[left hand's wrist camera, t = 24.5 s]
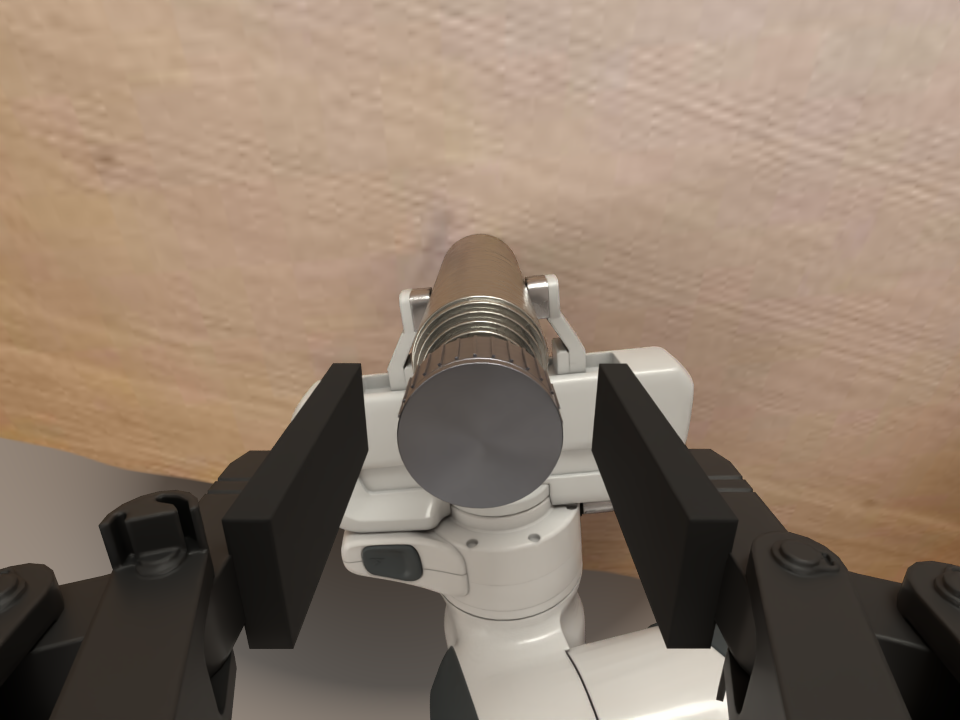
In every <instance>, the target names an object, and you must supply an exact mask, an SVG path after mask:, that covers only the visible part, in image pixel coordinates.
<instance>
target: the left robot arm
mask: <svg viewBox="0 0 960 720" xmlns="http://www.w3.org/2000/svg"><path fill="white" fill-rule="evenodd" d="M368 451H369V448H368V437H367V426H366V415H365V403H364V392H363V381H362V370H361V363H333V364H332V366H331V367H330V368H329V370H328V371H327V373H326V374H325V375H324V377H323V378H322V380H321V381H320V382H319V384H318V385H317V387H316V388H315V389H314V391H313V392H312V394H311V395H310V396H309V398H308V399H307V401H306V402H305V403H304V405H303V406H302V408H301V409H300V410H299V412H298V413H297V415H296V416H295V417H294V419H293V420H292V422H291V423H290V424H289V426H288V427H287V429H286V430H285V431H284V433H283V434H282V436H281V437H280V438H279V440H278V441H277V443H276V444H275V445H274V447H273V448H272V450H271V451H249V452H247V453H246V454H244V455H242V456H241V457H239V458H238V459H236V460H235V461H233V462H232V463H230V464H229V465H228V467H227V468H226V469H225V470H224V472H223V473H222V474H221V475H220V476H219V478H218V481H215V483H214V484H213V485H212V486H211V488H210V489H209V490H208V494H205V495H204V496H203V497H202V498H201V500H200V501H199V502H198V499H197V498H196V497H195V496H193V495H192V494H191V493H189V492H184V491H179V490H170V491H159V492H155V493H151V494H147V495H143V496H140V497H138V498H136V499H133V500H131V501H129V502H127V503H124V504H122V505H121V506H119V507H118V508H116V509H115V510H113V511H112V512H111V513H109V514H108V515H107V516H106V517H105V518H104V520H103V521H102V522H101V523H100V524H99V529H100V531H101V535H102V538H103V541H104V544H105V547H106V550H107V553H108V556H109V559H110V562H111V565H112V568H113V571H112V573H111V574H108V575H104V576H100V577H96V578H91V579H86V580H82V581H77V582H73V583H68V584H64V585H58V582H57V580H56V577H55V575H54V572H53V570H52V569H50V568H49V567H47V566H46V565H44V564H33V563H28V564H22V565H16V566H10V567H7V568H3V569H0V720H231V718H232V708H233V698H234V688H235V678H236V662H235V656H234V652H233V646H234V644H235V642H236V640H237V638H238V636H239V634H240V632H241V630H242V628H243V626H245V630H246V635H247V639H248V644H249V648H250V649H293V648H294V645H295V643H296V640H297V637H298V635H299V632H300V629H301V627H302V624H303V622H304V619H305V616H306V614H307V611H308V608H309V606H310V603H311V601H312V598H313V595H314V593H315V590H316V587H317V585H318V582H319V580H320V577H321V574H322V572H323V569H324V566H325V564H326V561H327V559H328V556H329V553H330V551H331V548H332V545H333V543H334V540H335V538H336V535H337V532H338V530H339V527H340V524H341V522H342V519H343V517H344V514H345V511H346V509H347V506H348V503H349V501H350V498H351V496H352V493H353V490H354V488H355V485H356V482H357V480H358V477H359V475H360V472H361V469H362V467H363V464H364V461H365V459H366V456H367V454H368ZM591 451H592V454H593V456H594V459H595V461H596V464H597V467H598V469H599V472H600V475H601V477H602V480H603V482H604V485H605V488H606V490H607V493H608V496H609V498H610V501H611V503H612V506H613V509H614V511H615V514H616V517H617V519H618V522H619V524H620V527H621V530H622V532H623V535H624V538H625V540H626V543H627V545H628V548H629V551H630V553H631V556H632V559H633V561H634V564H635V566H636V569H637V572H638V574H639V577H640V580H641V582H642V585H643V587H644V590H645V593H646V595H647V598H648V600H649V603H650V606H651V608H652V611H653V614H654V616H655V619H656V622H657V624H658V627H659V629H660V632H661V635H662V637H663V640H664V643H665V645H666V648H667V649H711V644H712V639H713V635H714V630H715V626H716V624H717V626H718V628H719V630H720V632H721V634H722V636H723V638H724V639H725V641H726V643H727V645H728V647H727V652H726V656H725V660H724V664H723V669H722V673H721V677H720V681H719V686H718V690H717V697H716V700H718V701H721V702H723V700H724V696H725V692H726V696H727V706H728V716H729V720H960V567H959V566H955V565H952V564H946V563H941V562H935V561H925V562H916V563H915V564H913V565H912V566H910V567H909V568H908V569H907V572H906V574H905V577H904V580H903V582H902V583H898V582H893V581H889V580H884V579H879V578H875V577H870V576H866V575H861V574H857V573H853V572H850V571H848V570H847V568H846V567H845V565H844V564H843V562H842V561H841V560H840V558H839V557H838V556H837V555H835V554H834V553H833V552H832V551H830V550H829V549H828V548H827V547H825V546H824V545H822V544H820V543H818V542H816V541H814V540H812V539H810V538H808V537H804V536H801V535H798V534H794V533H791V532H788V531H787V530H786V529H785V528H784V526H783V525H782V524H781V523H780V522H779V520H778V519H777V518H776V517H775V516H774V514H773V513H772V512H771V511H770V509H769V508H768V507H767V506H766V505H765V503H764V502H763V501H762V500H761V499H760V497H759V496H758V495H757V494H756V492H753V489H752V488H751V486H750V485H749V484H748V483H747V482H746V480H743V479H742V476H741V474H740V473H739V472H738V471H737V469H736V468H735V467H734V466H733V465H732V463H731V462H730V461H728V460H727V459H725V458H724V457H722V456H720V455H719V454H717V453H716V452H714V451H713V450H711V449H688V448H687V447H686V445H685V444H684V443H683V441H682V440H681V438H680V437H679V436H678V434H677V433H676V431H675V430H674V429H673V427H672V426H671V424H670V423H669V422H668V420H667V419H666V417H665V416H664V415H663V413H662V412H661V410H660V409H659V408H658V406H657V405H656V403H655V402H654V401H653V399H652V398H651V396H650V395H649V394H648V392H647V391H646V389H645V388H644V387H643V385H642V384H641V382H640V381H639V380H638V378H637V377H636V375H635V374H634V373H633V371H632V370H631V368H630V367H629V366H628V364H627V363H599V370H598V381H597V392H596V403H595V415H594V426H593V437H592V448H591Z"/></svg>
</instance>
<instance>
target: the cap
mask: <svg viewBox="0 0 960 720" xmlns="http://www.w3.org/2000/svg"><path fill="white" fill-rule="evenodd" d="M559 409H561V408H560V405H559V402H558V399H557V396H556V393H555V389H554V386H553V384H551V382H550V379H549V376H548V373H547V371H546V370H543V368H542V367H541V365H540V364H539V362H538V359H537V358H534V357H533V356H531V355H530V354H529V353H528V352H526V350H525V348H520V347H519V346H517V345H515V344H512V343H511V341H509V340H507V341H505V340H501V339H498V338H494V336H491V337H477V335H474V337H468V338H463V339H460V338H457V340H455V341H453V342H450V343H447V344H446V345H444V344H442V345H441V347H440V348H438V349H437V350H435V351H434V352H432V353H429V354H428V355H427V358H426V359H425V360H424V361H423V362H422V363H421V364H420V365H419V364H418V365H417V367H416V370H415V373H414V375H413V377H412V378H411V377H410V379H409V381H408V384H407V388H406V391H405V394H404V397H403V400H402V404H401V407H400V410H399V413H398V418H399V421H398V427H397V444H398V449H399V453H400V456H401V459H402V461H403V463H404V465H405V467H406V469H407V471H408V472H409V474H410V475H411V477H412V478H413V479H414V480H415V481H416V482H417V483H418V485H420V486H421V487H422V488H423V489H424V490H425V491H427V492H428V493H430V494H431V495H433V496H434V497H436V498H438V499H440V500H442V501H445V502H447V503H450V504H453V505H457V506H461V507H467V508H480V509H483V508H494V507H499V506H504V505H507V504H510V503H513V502H515V501H518V500H520V499H522V498H524V497H526V496H527V495H529V494H531V493H532V492H533V491H535V490H536V489H537V488H538V487H539V486H541V485H542V484H543V483H544V482H545V481H546V479H547V478H548V477H549V475H550V474H551V473H552V471H553V469H554V468H555V466H556V464H557V462H558V459H559V457H560V454H561V450H562V445H563V420H562V417H561V413H560V410H559Z"/></svg>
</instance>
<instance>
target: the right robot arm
mask: <svg viewBox="0 0 960 720" xmlns="http://www.w3.org/2000/svg"><path fill="white" fill-rule="evenodd" d="M525 285H526V288H527V290H528V293H529V296H530V299H531V302H532V304H533V307H534V310H535V313H536V315H537V318H538V319H544V318H547V320H548V321H549V323H550V324H551V326H552V327H553V328H554V330H555V331H556V333H557V334H558V336H559V337H560V338H554V339H553V340H552V356H551V357H548V369H547V373H548V376H549V379H550V382H551V384H553V386H554V389H555V393H556V396H557V399H558V402H559V405H560V408H561V409H559V410H560V413H561V417H562V420H563V445H562V450H561V454H560V457H559V459H558V462H557V464H556V466H555V468H554V469H553V471H552V473H551V474H550V475H549V477H548V478H547V479H546V481H545V482H544V483H543V484H542V485H541V486H539V487H538V488H537V489H536V490H535V491H533V492H532V493H531V494H529V495H527V496H526V497H524V498H522V499H520V500H518V501H515V502H513V503H510V504H507V505H504V506H499V507H494V508H483V509H480V508H467V507H461V506H457V505H453V504H450V503H447V502H445V501H442V500H440V499H438V498H436V497H434V496H433V495H431V494H430V493H428V492H427V491H425V490H424V489H423V488H422V487H421V486H420V485H418V483H417V482H416V481H415V480H414V479H413V478H412V477H411V475H410V474H409V472H408V471H407V469H406V467H405V465H404V463H403V461H402V459H401V456H400V453H399V449H398V444H397V427H398V421H399V418H398V413H399V410H400V407H401V404H402V400H403V397H404V394H405V391H406V388H407V384H408V381H409V379H410V377H411V378H412V377H413V375H414V374H413V369H412V353H410V355H409V352H410V349H411V347H412V344H413V342H414V339H415V337H416V334H417V332H418V329H419V327H420V324H421V321H422V318H423V316H424V313H425V310H426V307H427V304H428V302H429V299H430V296H431V293H432V288H431V287H429V288H418V289H407V290H402V292H401V293H400V295H399V304H400V311H401V317H402V323H403V332H402V334H401V336H400V339H399V341H398V344H397V346H396V349H395V351H394V354H393V356H392V359H391V361H390V364H389V366H388V368H387V369H388V373H380V374H370V375H362V381H363V392H364V403H365V415H366V426H367V437H368V448H369V451H368V454H367V456H366V459H365V461H364V464H363V467H362V469H361V472H360V475H359V477H358V480H357V482H356V485H355V488H354V490H353V493H352V496H351V498H350V501H349V503H348V506H347V509H346V511H345V514H344V517H343V519H342V522H341V524H340V528H342V529H345V532H344V536H343V542H342V549H341V554H342V559H343V563H344V565H345V567H346V568H347V569H348V570H349V571H350V572H352V573H355V574H358V575H362V576H368V577H374V578H380V579H386V580H392V581H396V582H402V583H406V584H410V585H415V586H418V587H422V588H426V589H429V590H432V591H435V592H438V593H441V595H442V597H443V599H444V601H445V602H446V609H445V615H444V630H445V637H446V642H447V647H448V651H447V652H446V654H445V656H444V658H443V660H442V662H441V664H440V667H439V670H438V672H437V675H436V678H435V680H434V683H433V686H432V689H431V693H430V720H729V716H728V706H727V696H726V692H725V696H724V700H723V702H721V701H718V700H716V697H717V690H718V686H719V681H720V677H721V673H722V669H723V664H724V660H725V656H726V652H727V647H728V645H727V643H726V641H725V639H724V638H723V636H722V634H721V632H720V630H719V628H718V626H717V624H716V626H715V630H714V635H713V639H712V644H711V649H667V648H666V645H665V643H664V640H663V637H662V635H661V632H660V629H659V627H658V624H657V623H655V624H653V625H651V626H649V627H648V628H647V629H643V630H639V631H635V632H631V633H627V634H623V635H620V636H616V637H612V638H608V639H604V640H600V641H596V642H592V643H589V644H586V635H585V615H584V608H583V604H582V601H581V599H580V596H579V594H578V588H579V584H580V581H581V577H582V569H583V564H582V539H581V521H580V516H582V514H591V513H602V512H611V511H614V509H613V506H612V503H611V501H610V498H609V496H608V493H607V490H606V488H605V485H604V482H603V480H602V477H601V475H600V472H599V469H598V467H597V464H596V461H595V459H594V456H593V454H592V451H591V448H592V437H593V426H594V415H595V403H596V392H597V381H598V370H599V363H627V364H628V366H629V367H630V368H631V370H632V371H633V373H634V374H635V375H636V377H637V378H638V380H639V381H640V382H641V384H642V385H643V387H644V388H645V389H646V391H647V392H648V394H649V395H650V396H651V398H652V399H653V401H654V402H655V403H656V405H657V406H658V408H659V409H660V410H661V412H662V413H663V415H664V416H665V417H666V419H667V420H668V422H669V423H670V424H671V426H672V427H673V429H674V430H675V431H676V433H677V434H678V436H679V437H680V438H681V440H682V441H683V443H684V444H686V440H687V436H688V430H689V425H690V419H691V412H692V405H693V395H694V384H693V380H692V378H691V376H690V374H689V373H688V371H687V370H686V369H685V368H684V366H683V365H682V364H681V363H680V362H679V361H678V360H677V359H676V358H675V357H673V356H672V355H671V354H670V353H669V352H667V351H666V350H665V349H663V348H662V347H658V346H651V347H642V348H632V349H622V350H611V351H601V352H591V353H585V348H584V346H583V344H582V342H581V341H580V339H579V337H578V335H577V334H576V332H575V331H574V329H573V328H572V327H571V325H570V324H569V322H568V321H567V319H566V318H565V316H564V315H563V314H562V312H561V311H560V298H559V285H558V279H557V277H556V276H555V274H549V275H540V276H531V277H525ZM320 381H321V380H318V381H317V382H315V383H314V384H313V385H312V386H311V388H310V389H309V390H308V391H307V392H306V394H305V395H304V396H303V397H302V399H301V400H300V402H299V403H298V405H297V407H296V409H295V411H294V413H293V415H292V419H291V422H292V420H293V419H294V417H295V416H296V415H297V413H298V412H299V410H300V409H301V408H302V406H303V405H304V403H305V402H306V401H307V399H308V398H309V396H310V395H311V394H312V392H313V391H314V389H315V388H316V387H317V385H318V384H319V382H320Z"/></svg>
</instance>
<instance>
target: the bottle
mask: <svg viewBox="0 0 960 720" xmlns="http://www.w3.org/2000/svg"><path fill="white" fill-rule="evenodd" d="M474 335H477V337H491V336H494V338H498V339H501V340H505V341H507V340H509V341H511V343H512V344H515V345H517V346H519V347H520V348H525V350H526V352H528V353H529V354H530V355H531V356H533V357H534V358H537V359H538V362H539V364H540V365H541V367H542V368H543V370H546V371H547V369H548V348H547V344H546V340H545V337H544V335H543V332H542V329H541V326H540V324H539V321H538V318H537V315H536V313H535V310H534V307H533V304H532V302H531V299H530V296H529V293H528V290H527V288H526V285H525V282H524V279H523V277H522V274H521V271H520V268H519V266H518V263H517V260H516V258H515V255H514V254H513V252H512V251H511V249H510V248H509V247H508V246H507V245H506V244H505V243H504V242H502V241H501V240H499V239H497V238H495V237H493V236H489V235H483V234H476V235H470V236H467V237H465V238H462V239H461V240H459V241H457V242H456V243H455V244H454V245H453V246H452V247H451V248H450V249H449V250H448V252H447V253H446V255H445V257H444V260H443V263H442V265H441V268H440V271H439V274H438V276H437V279H436V282H435V285H434V288H433V290H432V293H431V296H430V299H429V302H428V304H427V307H426V310H425V313H424V316H423V318H422V321H421V324H420V327H419V329H418V332H417V335H416V338H415V341H414V344H413V349H412V369H413V374H414V373H415V370H416V367H417V365H418V364H419V365H420V364H421V363H422V362H423V361H424V360H425V359H426V358H427V355H428V354H429V353H432V352H434V351H435V350H437V349H438V348H440V347H441V345H442V344H444V345H446V344H447V343H450V342H453V341H455V340H457V338H460V339H463V338H468V337H474Z"/></svg>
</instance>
